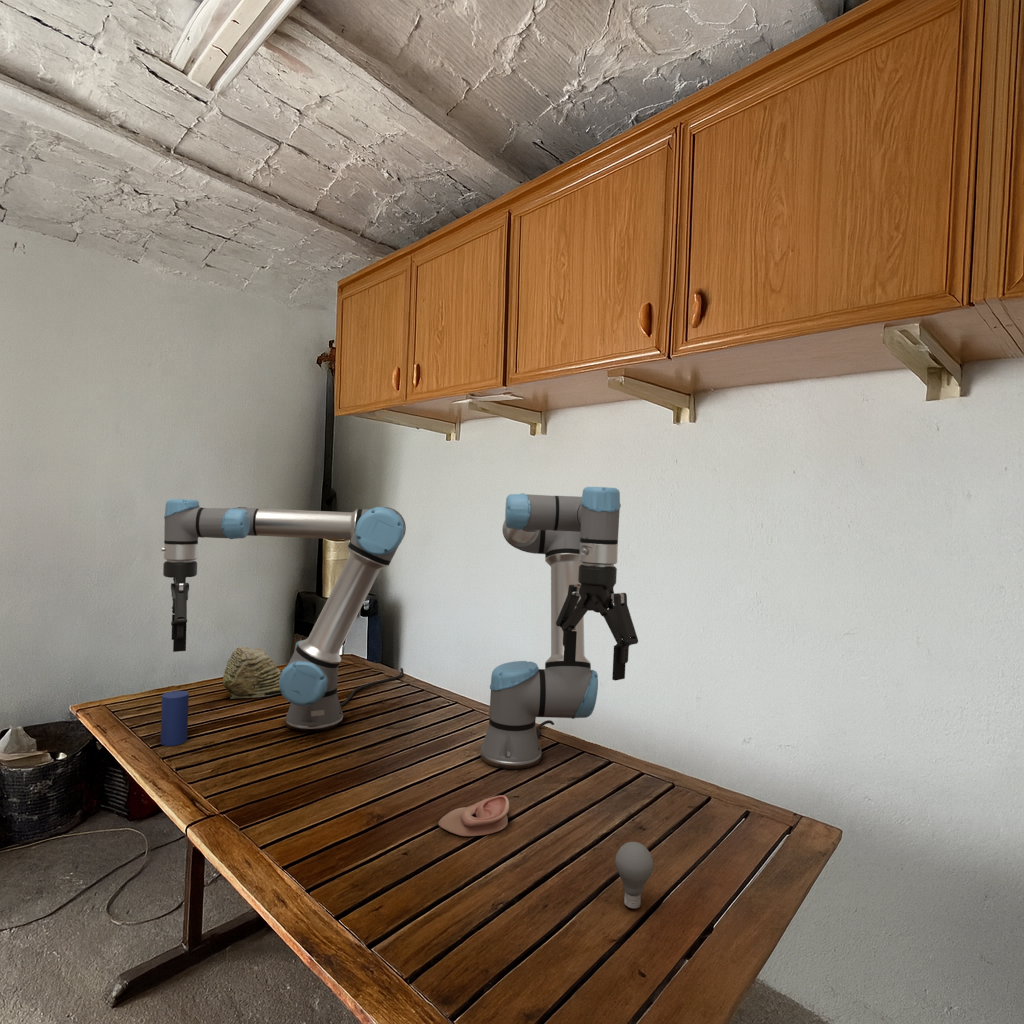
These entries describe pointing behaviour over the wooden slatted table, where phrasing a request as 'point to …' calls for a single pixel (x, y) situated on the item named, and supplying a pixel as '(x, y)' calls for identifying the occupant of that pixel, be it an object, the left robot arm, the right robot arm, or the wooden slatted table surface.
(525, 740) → the right robot arm
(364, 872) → the wooden slatted table surface
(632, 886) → the light bulb
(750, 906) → the wooden slatted table surface
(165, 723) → the canister
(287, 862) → the wooden slatted table surface
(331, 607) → the left robot arm
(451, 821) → the anatomical model
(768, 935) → the wooden slatted table surface
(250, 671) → the fossil
